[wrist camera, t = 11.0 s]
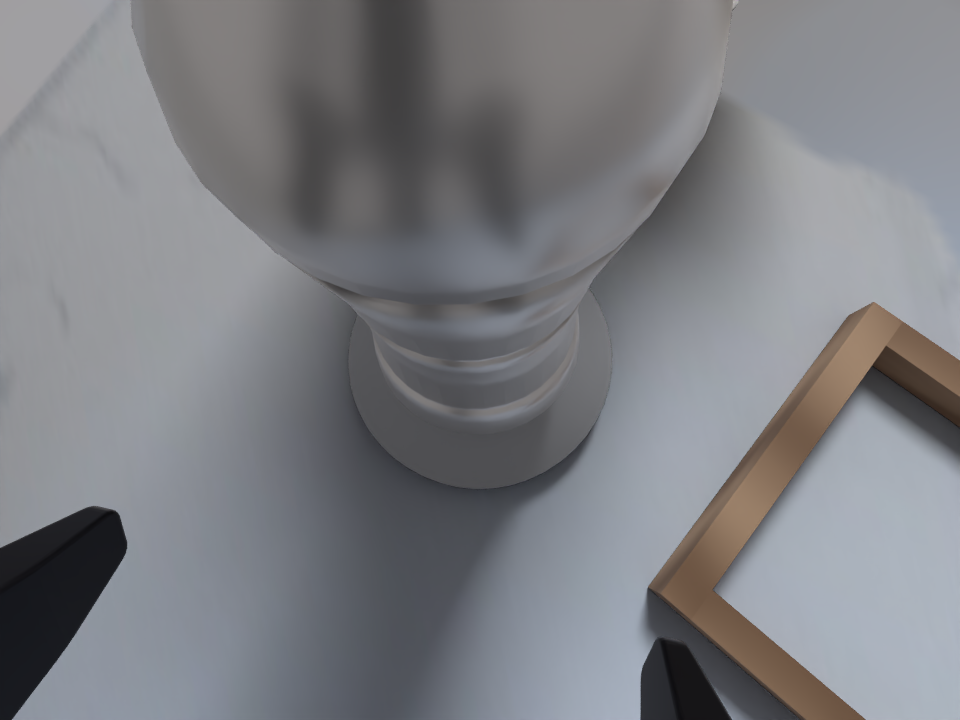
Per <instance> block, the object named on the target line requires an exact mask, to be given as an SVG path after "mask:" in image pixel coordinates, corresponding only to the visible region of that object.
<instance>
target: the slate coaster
mask: <svg viewBox="0 0 960 720" xmlns="http://www.w3.org/2000/svg"><path fill="white" fill-rule="evenodd" d="M578 316H579V333H580V334H579V348H578V354H577V360H576V365H575V368H574V370H573V373H572V375H571V378H570V380H569V382H568V384H567V385H566V387H565V389H564V390H563V392H562V393H561V395H560V396H559V398H558V399H557V400H556V401H555V402H554V403H553V404H552V405H551V406H550V407H549V408H548V409H546V410H545V411H544V412H543V413H541V414H540V415H538V416H537V417H535V418H534V419H532V420H531V421H529V422H528V423H525V424H523V425H520V426H518V427H515V428H513V429H510V430H507V431H502V432H497V433H492V434H463V433H458V432H453V431H447V430H445V429H442V428H440V427H437V426H435V425H432V424H430V423H427V422H426V421H424V420H423V419H421V418H420V417H418V416H417V415H415V414H413V413H412V412H411V411H410V410H409V409H408V408H407V407H406V406H405V405H403V404H402V403H401V402H400V401H399V400H398V399H397V397H396V396H395V394H394V393H393V391H392V390H391V388H390V387H389V385H388V384H387V382H386V380H385V378H384V375H383V373H382V370H381V368H380V365H379V362H378V359H377V356H376V352H375V346H374V340H373V333H372V331H371V329H370V326H369V325H368V324H367V323H366V322H365V321H364V320H363V319H362V318H361V317H360V316H359V315H357V317H356V320H355V323H354V327H353V330H352V333H351V339H350V345H349V356H348V370H349V378H350V385H351V389H352V393H353V397H354V401H355V403H356V406H357V408H358V411H359V413H360V415H361V417H362V419H363V421H364V423H365V424H366V426H367V428H368V429H369V431H370V432H371V434H372V435H373V436H374V438H375V439H376V440H377V441H378V443H379V444H380V445H381V446H382V447H383V448H384V449H385V450H386V451H387V452H388V453H389V454H390V455H391V456H392V457H393V458H395V459H396V460H397V461H399V462H400V463H402V464H403V465H404V466H406V467H407V468H409V469H411V470H413V471H414V472H416V473H418V474H420V475H422V476H424V477H426V478H429V479H431V480H434V481H437V482H439V483H442V484H446V485H450V486H455V487H459V488H469V489H493V488H500V487H505V486H511V485H514V484H517V483H520V482H524V481H527V480H529V479H531V478H533V477H536V476H538V475H540V474H542V473H544V472H545V471H547V470H549V469H550V468H552V467H553V466H555V465H556V464H558V463H559V462H561V461H562V460H563V459H564V458H565V457H567V456H568V455H569V454H570V453H571V452H572V451H573V450H575V449H576V447H577V446H578V445H579V444H580V443H581V442H582V441H583V439H584V438H585V437H586V436H587V435H588V433H589V431H590V430H591V428H592V427H593V425H594V424H595V422H596V421H597V419H598V416H599V414H600V412H601V410H602V408H603V406H604V403H605V400H606V397H607V393H608V390H609V385H610V379H611V373H612V349H611V340H610V335H609V331H608V327H607V323H606V320H605V318H604V315H603V313H602V310H601V308H600V306H599V304H598V302H597V301H596V299H595V297H594V295H593V293H592V292H591V291H590V289H589V288H588V290H587V292H586V293H585V295H584V296H583V298H582V300H581V302H580V304H579V307H578Z"/></svg>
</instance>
